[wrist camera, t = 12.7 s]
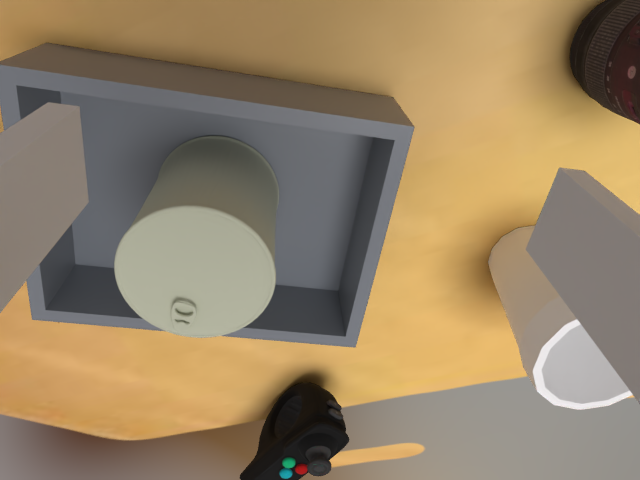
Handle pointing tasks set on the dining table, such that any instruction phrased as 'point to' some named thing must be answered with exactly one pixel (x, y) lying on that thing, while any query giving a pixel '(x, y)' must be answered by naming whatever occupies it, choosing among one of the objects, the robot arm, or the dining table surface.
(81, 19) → the dining table surface
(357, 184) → the box
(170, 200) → the can
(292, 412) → the controller
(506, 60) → the dining table surface
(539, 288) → the foam cup
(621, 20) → the camera lens
